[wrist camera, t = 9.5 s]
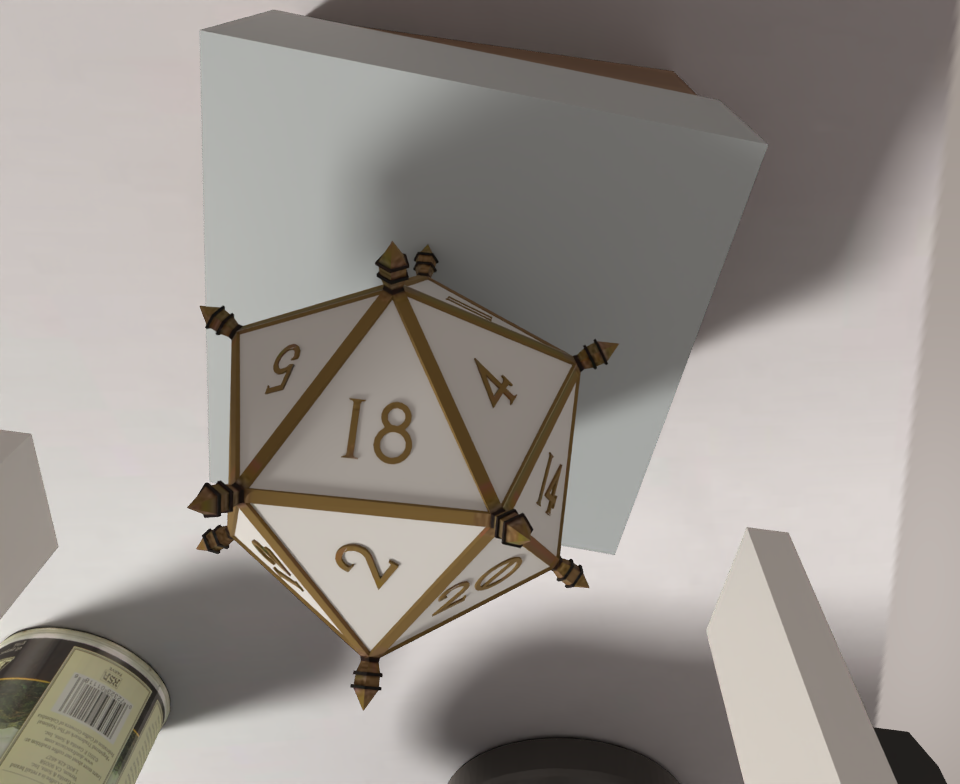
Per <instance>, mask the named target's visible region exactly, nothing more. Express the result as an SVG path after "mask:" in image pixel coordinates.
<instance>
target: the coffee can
mask: <svg viewBox="0 0 960 784" xmlns="http://www.w3.org/2000/svg"><path fill="white" fill-rule="evenodd" d="M169 712H170V700H169V696H168V691H167V689H166V687H165V685H164V683H163V682H162V680H161V679H160V677H159V676H158V674H157V673H156V672H155V671H154V670H153V669H152V668H151V667H150V666H149V665H148V664H146V663H145V662H144V661H143V660H141V659H140V658H139V657H137V656H136V655H135V654H133V653H132V652H130V651H128V650H127V649H125V648H124V647H122V646H120V645H118V644H116V643H114V642H111V641H109V640H106V639H104V638H101V637H98V636H95V635H92V634H89V633H86V632H81V631H75V630H70V629H62V628H37V629H30V630H26V631H22V632H18V633H16V634H14V635H12V636H10V637H8V638H7V639H5V640H4V641H3V642H2V643H1V644H0V784H135V782H136V780H137V778H138V776H139V774H140V772H141V769H142V767H143V765H144V763H145V761H146V759H147V757H148V755H149V752H150V750H151V748H152V746H153V744H154V742H155V740H156V738H157V735H158V733H159V732H160V729H161V727H162V726H163V725H164V723H165V722H166V720H167V718H168V715H169Z"/></svg>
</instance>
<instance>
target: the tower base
mask: <svg viewBox="0 0 960 784" xmlns="http://www.w3.org/2000/svg"><path fill="white" fill-rule="evenodd" d="M352 26H353V25H352ZM357 27H360V26H357ZM362 28H367V27H362ZM367 29H371V30H376V31H381V32H386V33H391V34H396V35H401V36H406V37H411V38H416V39H421V40H426V41H431V42H436V43H441V44H445V45H450V46H455V47H460V48H465V49H470V50H475V51H480V52H485V53H490V54H495V55H500V56H505V57H510V58H514V59H519V60H524V61H529V62H534V63H539V64H544V65H549V66H554V67H559V68H564V69H569V70H574V71H579V72H583V73H588V74H593V75H598V76H603V77H608V78H613V79H618V80H623V81H628V82H633V83H638V84H643V85H648V86H653V87H657V88H662V89H667V90H672V91H677V92H682V93H687V94H692V95H696V94H695V93H694V92H693V91H692V90H691V89H690V88H689V87H688V86H687V85H686V84H685V83H684V82H683V81H682V80H681V79H680V78H679V77H678V75H677V74H676V73H675V72H674V71H668V70H661V69H654V68H647V67H640V66H633V65H626V64H619V63H612V62H605V61H598V60H591V59H584V58H577V57H570V56H563V55H556V54H549V53H542V52H535V51H528V50H521V49H514V48H507V47H500V46H493V45H486V44H479V43H472V42H465V41H458V40H451V39H444V38H437V37H430V36H423V35H416V34H409V33H402V32H395V31H388V30H381V29H374V28H367Z"/></svg>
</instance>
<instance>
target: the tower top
mask: <svg viewBox="0 0 960 784" xmlns="http://www.w3.org/2000/svg"><path fill="white" fill-rule="evenodd" d="M200 74H201V119H202V164H203V209H204V255H205V300H206V306H209V307H221V306H225V310H226V311H227V312H228V313H229V314H231V313H233V314H234V319H235V320H236V321H237V322H238V324H240V325H242V326H244V325H248V324H251V323H255V322H258V321H261V320H265V319H268V318H271V317H275V316H278V315H282V314H285V313H288V312H292V311H295V310H298V309H302V308H305V307H309V306H312V305H315V304H319V303H322V302H325V301H329V300H332V299H336V298H339V297H342V296H346V295H349V294H353V293H356V292H359V291H363V290H366V289H369V288H373V287H376V286H380V285H383V282H382V280H381V279H380V278H378V277H377V273H378V272H379V267H378V266H376V265H375V262H376V261H377V260H378V259H379V258H380V257H381V255H382V254H383V253H384V252H385V251H386V250H387V248H388V247H389V245H390V244H391V242H392V241H393V242H394V243H395V244H396V246H397V247H398V248H399V250H400V251H401V252H402V253H404V254H406V255H407V259H408V262H409V268H407V272H408V276H409V277H413V276H416V271H414V270H413V268H414V266H415V264H416V262H415V261H414V258H415V256H416V254H417V252H421V251H422V250H423V249H424V248H425V247H426V246H427V244H428V245H429V247H430V249H431V251H432V253H434V255H435V256H436V258H437V259H438V261H439V262H438V263H437V264H436V266H435V268H436V269H437V272H435V273H433V275H432V277H431V278H432V279H434V280H436V281H437V282H439V283H441V284H443V285H445V286H447V287H448V288H450V289H452V290H454V291H456V292H457V293H459V294H461V295H463V296H465V297H467V298H468V299H470V300H472V301H474V302H476V303H477V304H479V305H481V306H483V307H485V308H487V309H488V310H490V311H492V312H494V313H496V314H497V315H499V316H501V317H503V318H505V319H507V320H508V321H510V322H512V323H514V324H516V325H517V326H519V327H521V328H523V329H525V330H527V331H528V332H530V333H532V334H534V335H536V336H538V337H539V338H541V339H543V340H545V341H547V342H548V343H550V344H552V345H554V346H556V347H558V348H559V349H561V350H563V351H565V352H567V353H568V354H570V355H572V356H574V355H577V354H578V353H579V352H580V351H581V350H582V349H584V347H583V346H584V345H586V347H587V346H589V345H590V344H592V343H594V341H593V340H594V339H596V340H597V341H601V342H610V343H619V345H618V346H617V348H616V349H615V351H614V352H613V354H612V355H611V357H610V358H609V360H608V361H607V362H608V364H607V365H605V364H601V365H599V366H597V369H595V370H594V368H589V369H584V370H583V371H582V372H581V375H580V384H579V392H578V401H577V410H576V419H575V427H574V436H573V445H572V454H571V462H570V471H569V480H568V489H567V497H566V506H565V515H564V524H563V532H562V541H561V545H562V546H567V547H573V548H578V549H584V550H589V551H595V552H601V553H606V554H612V555H615V553H616V550H617V547H618V545H619V542H620V539H621V537H622V534H623V531H624V529H625V526H626V523H627V521H628V518H629V515H630V513H631V510H632V507H633V505H634V502H635V499H636V497H637V494H638V491H639V489H640V486H641V483H642V481H643V478H644V475H645V473H646V470H647V467H648V465H649V462H650V459H651V457H652V454H653V451H654V449H655V446H656V443H657V441H658V438H659V435H660V433H661V430H662V427H663V425H664V422H665V419H666V417H667V414H668V411H669V409H670V406H671V403H672V401H673V398H674V395H675V393H676V390H677V387H678V385H679V382H680V379H681V377H682V374H683V371H684V369H685V366H686V363H687V361H688V358H689V355H690V353H691V350H692V347H693V345H694V342H695V339H696V337H697V334H698V331H699V329H700V326H701V323H702V321H703V318H704V315H705V313H706V310H707V307H708V305H709V302H710V299H711V297H712V294H713V291H714V289H715V286H716V283H717V281H718V278H719V275H720V273H721V270H722V267H723V265H724V262H725V259H726V257H727V254H728V251H729V248H730V246H731V243H732V240H733V238H734V235H735V232H736V230H737V227H738V224H739V222H740V219H741V216H742V214H743V211H744V208H745V206H746V203H747V200H748V198H749V195H750V192H751V190H752V187H753V184H754V182H755V179H756V176H757V174H758V171H759V168H760V166H761V163H762V160H763V158H764V155H765V152H766V150H767V147H768V144H767V143H766V142H765V141H764V140H763V139H762V138H761V137H760V136H758V135H757V134H756V133H755V132H754V131H753V130H752V129H751V128H750V127H748V126H747V125H746V124H745V123H744V122H743V121H742V120H741V119H740V118H739V117H737V116H736V115H735V114H734V113H733V112H732V111H731V110H730V109H729V108H728V107H726V106H725V105H724V104H723V103H722V102H721V101H720V100H717V99H712V98H707V97H702V96H697V95H692V94H687V93H682V92H677V91H672V90H667V89H662V88H657V87H653V86H648V85H643V84H638V83H633V82H628V81H623V80H618V79H613V78H608V77H603V76H598V75H593V74H588V73H583V72H579V71H574V70H569V69H564V68H559V67H554V66H549V65H544V64H539V63H534V62H529V61H524V60H519V59H514V58H510V57H505V56H500V55H495V54H490V53H485V52H480V51H475V50H470V49H465V48H460V47H455V46H450V45H445V44H441V43H436V42H431V41H426V40H421V39H416V38H411V37H406V36H401V35H396V34H391V33H386V32H381V31H376V30H371V29H367V28H362V27H357V26H352V25H347V24H342V23H337V22H332V21H327V20H322V19H317V18H312V17H307V16H302V15H298V14H293V13H288V12H283V11H278V10H271V11H267V12H264V13H260V14H256V15H253V16H249V17H245V18H242V19H238V20H234V21H231V22H227V23H224V24H220V25H216V26H213V27H209V28H205V29H202V30H200ZM215 333H216V331H214V330H213V329H211V328H210V329H206V345H207V390H208V435H209V480H210V482H212V483H217V481H220V480H221V481H222V482H223V483H224V484H228V476H229V431H230V386H231V341H232V340H231V339H230V338H229V337H227V336H224V335H216V334H215Z"/></svg>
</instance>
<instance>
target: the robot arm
mask: <svg viewBox="0 0 960 784" xmlns="http://www.w3.org/2000/svg"><path fill="white" fill-rule="evenodd" d="M57 548H58V543H57V539H56V534H55V530H54V526H53V522H52V518H51V514H50V510H49V505H48V501H47V497H46V493H45V489H44V485H43V480H42V476H41V472H40V468H39V464H38V460H37V455H36V451H35V447H34V443H33V439H32V435H31V434H29V433H21V432H13V431H6V430H0V619H1V618H2V617H3V615H4V614H5V613H6V612H7V610H8V609H9V608H10V607H11V605H12V604H13V603H14V602H15V600H16V599H17V598H18V597H19V595H20V594H21V593H22V592H23V590H24V589H25V588H26V587H27V585H28V584H29V583H30V582H31V580H32V579H33V578H34V577H35V575H36V574H37V573H38V572H39V570H40V569H41V568H42V567H43V565H44V564H45V563H46V562H47V560H48V559H49V558H50V557H51V555H52V554H53V553H54V552H55V550H56V549H57ZM706 633H707V637H708V641H709V645H710V649H711V653H712V657H713V661H714V665H715V669H716V673H717V677H718V681H719V685H720V689H721V693H722V697H723V701H724V705H725V709H726V712H727V716H728V720H729V724H730V728H731V732H732V736H733V740H734V744H735V748H736V752H737V756H738V760H739V764H740V768H741V772H742V776H743V780H744V784H947V783H946V781H945V779H944V777H943V775H942V773H941V771H940V769H939V767H938V766H937V764H936V763H935V762H934V761H933V760H932V759H931V757H930V756H929V755H928V754H927V753H926V752H925V750H924V749H923V748H922V747H921V746H920V745H919V744H918V742H917V741H916V740H915V739H914V738H913V737H912V735H911V734H910V733H909V732H904V731H897V730H889V729H881V728H874V727H873V726H872V724H871V722H870V719H869V717H868V715H867V712H866V710H865V708H864V705H863V703H862V701H861V699H860V696H859V694H858V692H857V689H856V687H855V685H854V682H853V680H852V678H851V676H850V673H849V671H848V669H847V666H846V664H845V662H844V659H843V657H842V655H841V652H840V650H839V648H838V646H837V643H836V641H835V639H834V636H833V634H832V632H831V629H830V627H829V625H828V623H827V620H826V618H825V616H824V613H823V611H822V609H821V606H820V604H819V602H818V600H817V597H816V595H815V593H814V590H813V588H812V586H811V583H810V581H809V579H808V577H807V574H806V572H805V570H804V567H803V565H802V563H801V560H800V558H799V556H798V554H797V551H796V549H795V547H794V544H793V542H792V540H791V537H790V535H789V533H786V532H779V531H771V530H763V529H756V528H748V527H747V528H746V531H745V533H744V536H743V538H742V541H741V543H740V546H739V549H738V551H737V554H736V556H735V559H734V561H733V564H732V566H731V569H730V571H729V574H728V576H727V579H726V582H725V584H724V587H723V589H722V592H721V594H720V597H719V599H718V602H717V604H716V607H715V609H714V612H713V614H712V617H711V620H710V622H709V625H708V627H707V630H706ZM448 784H679V783H678V782H677V780H676V779H675V778H674V777H673V776H672V775H671V774H670V773H669V772H667V771H666V770H665V769H664V768H662V767H661V766H660V765H658V764H657V763H655V762H653V761H652V760H650V759H648V758H646V757H644V756H642V755H640V754H637V753H635V752H633V751H630V750H627V749H624V748H621V747H618V746H614V745H610V744H606V743H601V742H596V741H590V740H582V739H569V738H548V739H535V740H527V741H522V742H516V743H512V744H508V745H504V746H501V747H498V748H495V749H492V750H490V751H487V752H485V753H483V754H481V755H479V756H477V757H475V758H474V759H472V760H470V761H469V762H467V763H466V764H465V765H463V766H462V767H461V768H460V769H459V770H458V771H457V772H456V773H455V774H454V775H453V776H452V778H451V779H450V781H449V782H448Z"/></svg>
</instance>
